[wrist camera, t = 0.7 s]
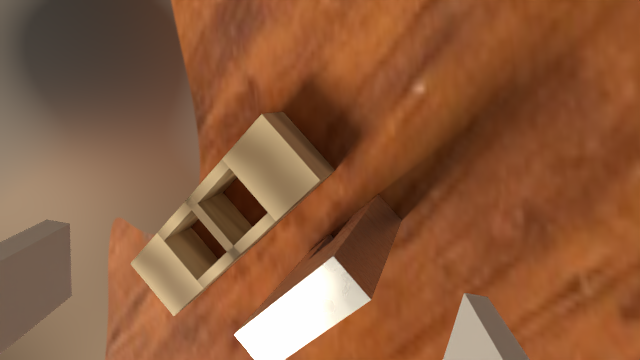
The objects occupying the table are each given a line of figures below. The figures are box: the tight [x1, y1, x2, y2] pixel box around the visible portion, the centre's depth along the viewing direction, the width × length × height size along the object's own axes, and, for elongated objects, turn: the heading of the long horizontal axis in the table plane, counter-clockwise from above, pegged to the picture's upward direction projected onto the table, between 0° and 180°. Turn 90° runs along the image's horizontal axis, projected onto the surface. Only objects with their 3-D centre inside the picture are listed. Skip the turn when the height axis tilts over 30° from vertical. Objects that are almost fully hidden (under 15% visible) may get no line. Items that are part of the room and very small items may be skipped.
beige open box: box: [131, 112, 335, 316], centre depth 35 cm, size 22×7×4 cm, turn 136°
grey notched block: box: [234, 194, 402, 360], centre depth 27 cm, size 9×3×13 cm, turn 136°
